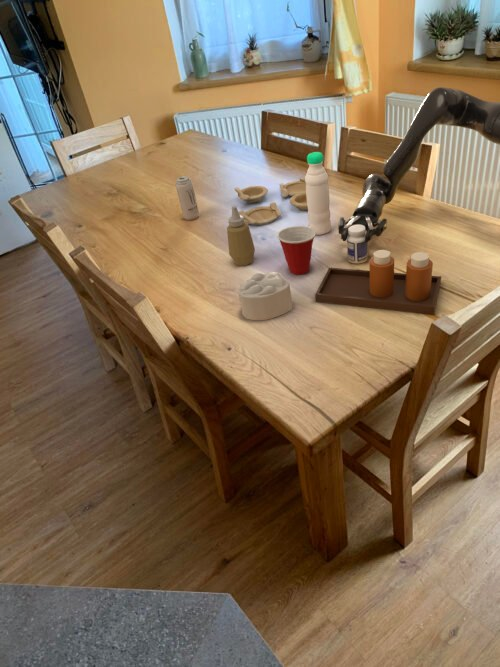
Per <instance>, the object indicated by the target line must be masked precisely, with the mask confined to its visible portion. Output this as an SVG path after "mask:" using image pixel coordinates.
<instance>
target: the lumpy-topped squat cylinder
mask: <svg viewBox="0 0 500 667" xmlns="http://www.w3.org/2000/svg"><path fill="white" fill-rule="evenodd" d="M238 298H239V303H240V308H241V313H242V316H243V317H244V318H245V319H247V320H251V321H267V320H272V319H274V318H277V317H280V316H282V315H284V314H286V313H287V314H288V312H290V311H291V310H292V309H293V300H292V292H291V285H290V282H289V281H288V280H287V279H285V277H284V276H283V274H281V273H280V272H279V271H269V272H265V273H261V272H256V273H254V274H252V276H251V277H250V278H249V279H247V280H246V281H245V282H243V283H242V284H241V285H240V287H239V289H238Z"/></svg>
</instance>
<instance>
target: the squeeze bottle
mask: <svg viewBox="0 0 500 667" xmlns="http://www.w3.org/2000/svg"><path fill="white" fill-rule="evenodd" d="M226 232H227V233H226V234H227V242H228V243H227V244H228V254H229V256H230V258H231V260H232V261H233V263H234V265H237V266H247V265H249V264H251V263H252V262H253V261H254V257H255V251H256V247H255V244H254V241H253V237H252V233H251V229H250V225H249V224H248V223H246V222H245V221H244V217H243V216H241V215H239V211H238V208H237V206H236V205H233V206H231V216H230V217H229V218H228V225H227V226H226Z"/></svg>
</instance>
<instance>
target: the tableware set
mask: <svg viewBox="0 0 500 667" xmlns="http://www.w3.org/2000/svg"><path fill="white" fill-rule="evenodd" d="M279 190H280V193H281V199H285V198H287V197H288V196H289V197H290V196H291V197H290V199H289V203H290V204H291V205H292V206H293V207H296V208H297V209H298V210H301V211H308V206H307V197H306V182H305V177H300V178H299V180H294V181H290V182H287V183H285V184H284V183H279ZM234 192H236V193H237V197H238V198H239V199H240V201H245V203H247V204H253V203H254V204H256V203H258V202H261V201H262V200H263V199H264V197H265V196H266V195H268V192H269V188H267V187H266V186H262V185H250V186H246V187H244V188H242V189H240V187H238V186H237V187H234ZM238 212H239V215H241V216H243V217H244V221H245V222H246V223H247V224H248V225H253V226H255V225H258V226H259V225H266V224H269V223H272V222H274V221H276V220H277V219H279V218H281V217H282V213H281V210H280V208H279V207H278V204H277V202H276V201H271V202H270V203H269V205H263V206H257V207H256V206H255V207H253V208H250V209H248V210H247V211H244V210H240V211H238Z"/></svg>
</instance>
